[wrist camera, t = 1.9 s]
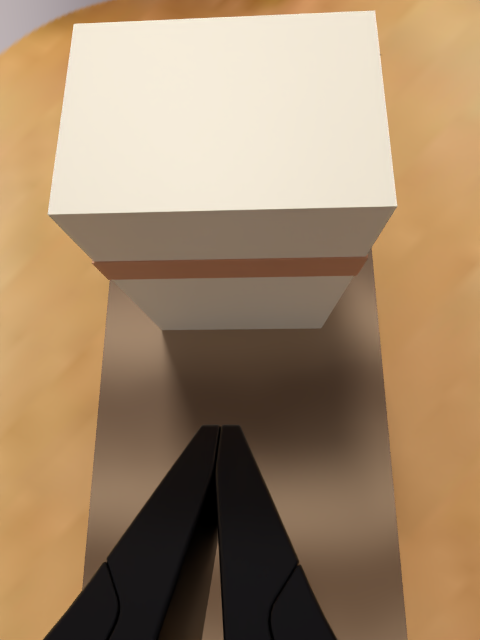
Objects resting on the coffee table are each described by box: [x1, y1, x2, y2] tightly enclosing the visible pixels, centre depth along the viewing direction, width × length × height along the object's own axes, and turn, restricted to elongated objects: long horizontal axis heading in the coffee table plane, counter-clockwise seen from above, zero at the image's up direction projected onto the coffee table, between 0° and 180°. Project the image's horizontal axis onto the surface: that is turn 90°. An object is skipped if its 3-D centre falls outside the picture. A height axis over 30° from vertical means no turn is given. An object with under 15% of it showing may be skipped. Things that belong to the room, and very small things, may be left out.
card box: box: [48, 11, 397, 330], centre depth 14 cm, size 5×7×10 cm
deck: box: [82, 249, 408, 640], centre depth 19 cm, size 18×12×4 cm, turn 0°
